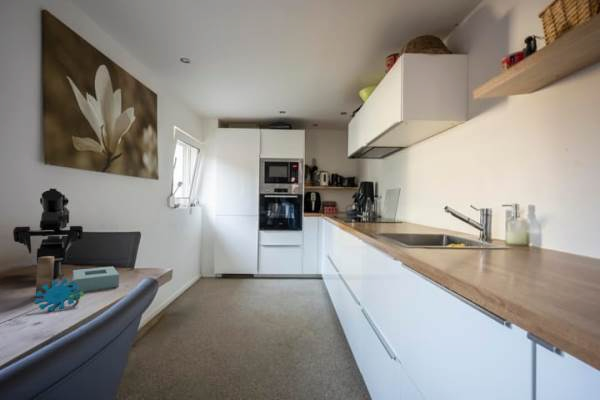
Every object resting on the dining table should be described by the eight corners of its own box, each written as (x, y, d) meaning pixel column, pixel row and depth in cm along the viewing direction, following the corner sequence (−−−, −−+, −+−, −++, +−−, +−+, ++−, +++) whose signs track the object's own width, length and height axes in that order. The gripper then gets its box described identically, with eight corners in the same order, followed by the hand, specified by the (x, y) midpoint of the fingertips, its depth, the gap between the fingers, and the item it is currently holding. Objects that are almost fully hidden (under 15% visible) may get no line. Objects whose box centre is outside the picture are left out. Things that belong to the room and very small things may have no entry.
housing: (72, 281, 106) (72, 270, 106) (112, 277, 114) (113, 266, 114) (73, 292, 94) (74, 279, 94) (118, 286, 102) (119, 274, 102)
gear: (26, 308, 75) (44, 276, 82) (30, 318, 78) (47, 286, 86) (75, 309, 79) (88, 279, 86) (77, 318, 83) (89, 288, 90)
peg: (40, 293, 92) (42, 256, 92) (54, 292, 93) (56, 256, 93) (32, 297, 88) (34, 258, 88) (47, 296, 89) (50, 258, 89)
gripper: (15, 203, 95) (7, 238, 86) (83, 205, 107) (82, 236, 98) (18, 224, 101) (10, 259, 92) (82, 223, 113) (81, 254, 104)
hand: (48, 251), depth 96 cm, fingers open, 9 cm apart
